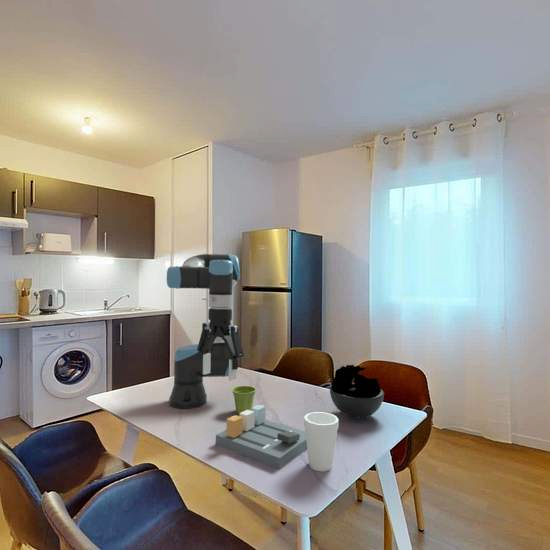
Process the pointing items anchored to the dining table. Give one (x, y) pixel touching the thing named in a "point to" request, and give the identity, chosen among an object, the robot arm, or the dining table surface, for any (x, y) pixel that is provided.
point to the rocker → (288, 436)
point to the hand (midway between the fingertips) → (219, 376)
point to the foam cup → (320, 439)
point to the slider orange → (234, 426)
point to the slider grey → (259, 414)
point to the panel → (265, 443)
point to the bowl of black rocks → (355, 392)
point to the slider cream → (247, 419)
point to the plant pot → (243, 398)
